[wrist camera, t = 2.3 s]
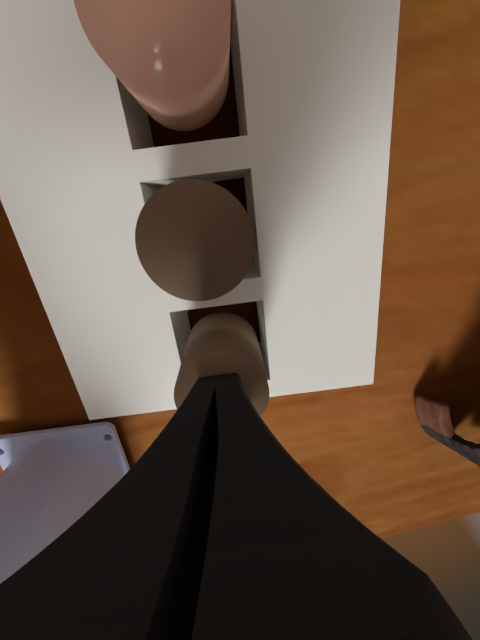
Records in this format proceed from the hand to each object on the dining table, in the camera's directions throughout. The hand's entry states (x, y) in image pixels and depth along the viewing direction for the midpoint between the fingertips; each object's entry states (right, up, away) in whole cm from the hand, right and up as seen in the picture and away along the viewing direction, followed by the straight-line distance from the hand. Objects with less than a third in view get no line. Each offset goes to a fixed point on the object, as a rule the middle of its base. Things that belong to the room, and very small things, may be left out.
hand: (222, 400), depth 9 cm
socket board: (-1, +8, +5) cm, 9 cm away
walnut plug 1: (-1, +6, +2) cm, 6 cm away
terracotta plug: (-1, +11, 0) cm, 11 cm away
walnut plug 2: (0, +2, +4) cm, 4 cm away
